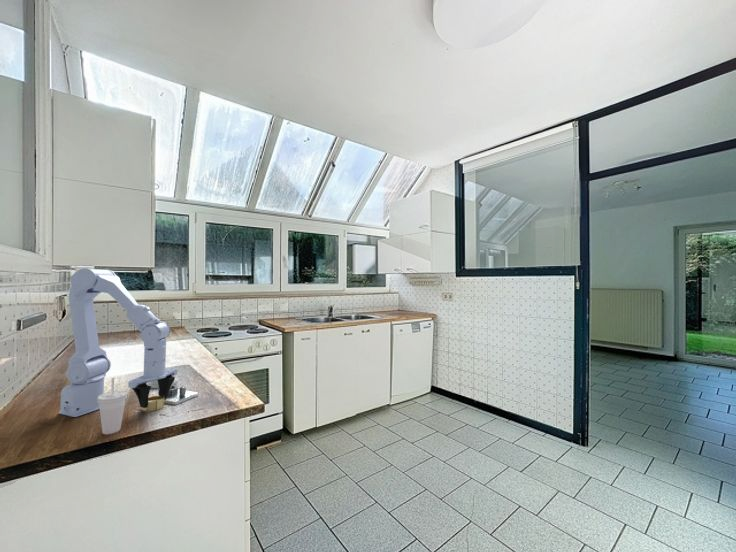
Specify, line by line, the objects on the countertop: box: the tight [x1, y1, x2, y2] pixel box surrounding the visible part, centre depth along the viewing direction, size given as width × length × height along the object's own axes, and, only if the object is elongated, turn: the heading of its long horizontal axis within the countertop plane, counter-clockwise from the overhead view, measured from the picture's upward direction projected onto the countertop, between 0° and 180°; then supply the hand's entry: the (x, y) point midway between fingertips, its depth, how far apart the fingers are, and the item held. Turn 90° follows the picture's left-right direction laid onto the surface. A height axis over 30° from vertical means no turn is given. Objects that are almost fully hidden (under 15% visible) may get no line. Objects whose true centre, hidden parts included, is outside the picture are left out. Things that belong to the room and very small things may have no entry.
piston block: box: [157, 384, 199, 406], centre depth 105 cm, size 9×12×4 cm
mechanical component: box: [146, 375, 179, 389], centre depth 119 cm, size 10×4×10 cm
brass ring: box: [141, 394, 165, 413], centre depth 97 cm, size 6×6×3 cm
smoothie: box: [97, 377, 129, 435], centre depth 82 cm, size 6×6×14 cm
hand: (153, 403), depth 97 cm, fingers closed on brass ring, 6 cm apart
